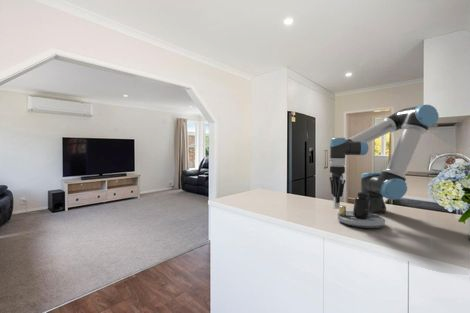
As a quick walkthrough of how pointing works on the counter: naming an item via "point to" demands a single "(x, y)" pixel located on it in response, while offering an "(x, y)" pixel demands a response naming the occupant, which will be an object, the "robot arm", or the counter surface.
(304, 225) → the counter surface
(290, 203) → the counter surface
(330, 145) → the robot arm
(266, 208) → the counter surface
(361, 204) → the supplement bottle
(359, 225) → the turntable
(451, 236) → the counter surface
